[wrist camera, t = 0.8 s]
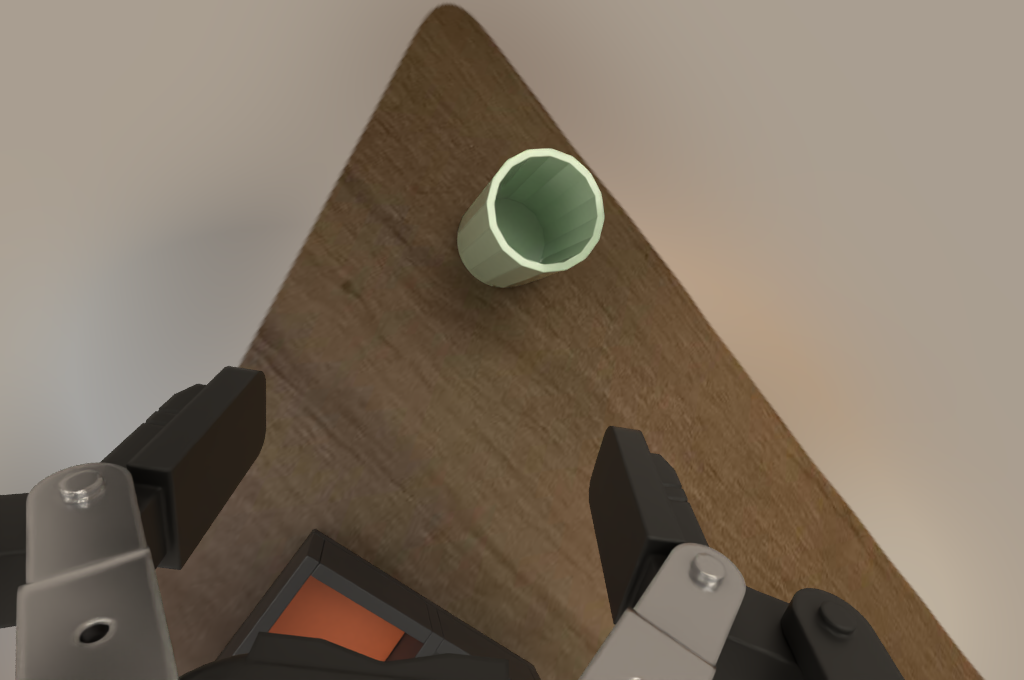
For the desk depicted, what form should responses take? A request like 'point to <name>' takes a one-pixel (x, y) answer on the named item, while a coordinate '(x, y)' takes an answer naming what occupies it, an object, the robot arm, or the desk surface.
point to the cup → (531, 220)
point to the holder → (361, 612)
